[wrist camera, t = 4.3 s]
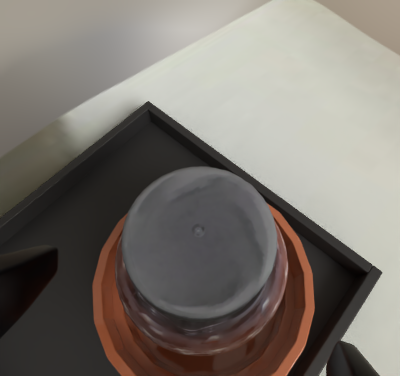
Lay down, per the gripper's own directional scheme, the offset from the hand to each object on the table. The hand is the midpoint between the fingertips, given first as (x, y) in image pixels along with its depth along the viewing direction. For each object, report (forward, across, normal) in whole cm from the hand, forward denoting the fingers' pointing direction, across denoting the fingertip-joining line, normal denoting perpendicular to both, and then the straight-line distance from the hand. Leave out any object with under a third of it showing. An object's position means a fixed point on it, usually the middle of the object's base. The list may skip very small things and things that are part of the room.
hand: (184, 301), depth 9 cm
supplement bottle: (+7, 0, +5) cm, 9 cm away
